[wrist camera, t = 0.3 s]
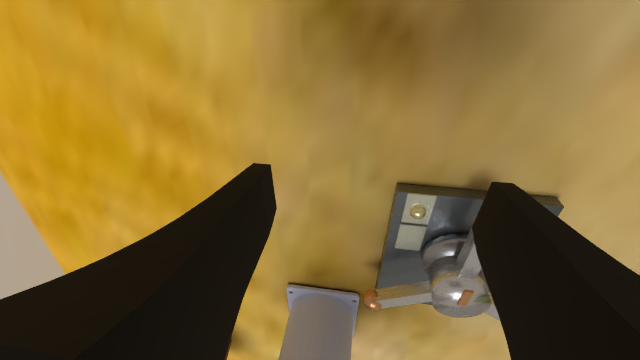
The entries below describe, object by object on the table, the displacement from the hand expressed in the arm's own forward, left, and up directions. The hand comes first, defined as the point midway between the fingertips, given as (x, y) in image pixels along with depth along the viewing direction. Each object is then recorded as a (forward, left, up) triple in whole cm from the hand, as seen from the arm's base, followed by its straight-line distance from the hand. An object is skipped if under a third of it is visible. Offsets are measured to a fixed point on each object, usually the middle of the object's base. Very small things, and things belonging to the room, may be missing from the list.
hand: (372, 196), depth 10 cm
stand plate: (-14, -8, -10) cm, 19 cm away
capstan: (-12, -8, -9) cm, 17 cm away
